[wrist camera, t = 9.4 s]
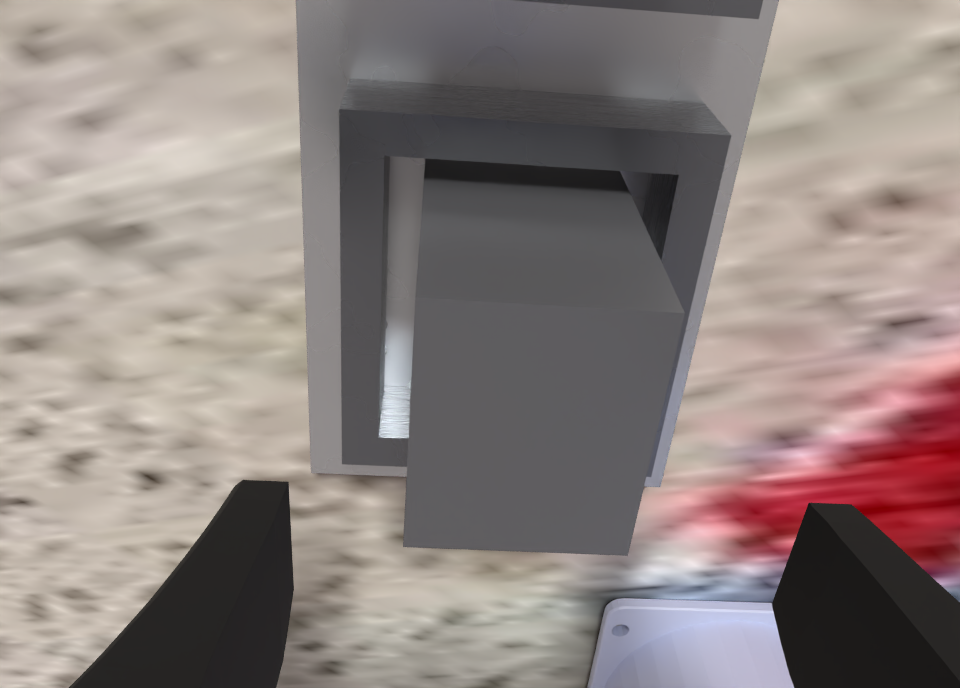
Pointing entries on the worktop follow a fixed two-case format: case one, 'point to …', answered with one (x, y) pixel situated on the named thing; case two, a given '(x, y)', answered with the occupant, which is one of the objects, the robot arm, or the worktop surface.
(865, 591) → the robot arm
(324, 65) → the power strip
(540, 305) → the plug block
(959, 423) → the worktop surface
